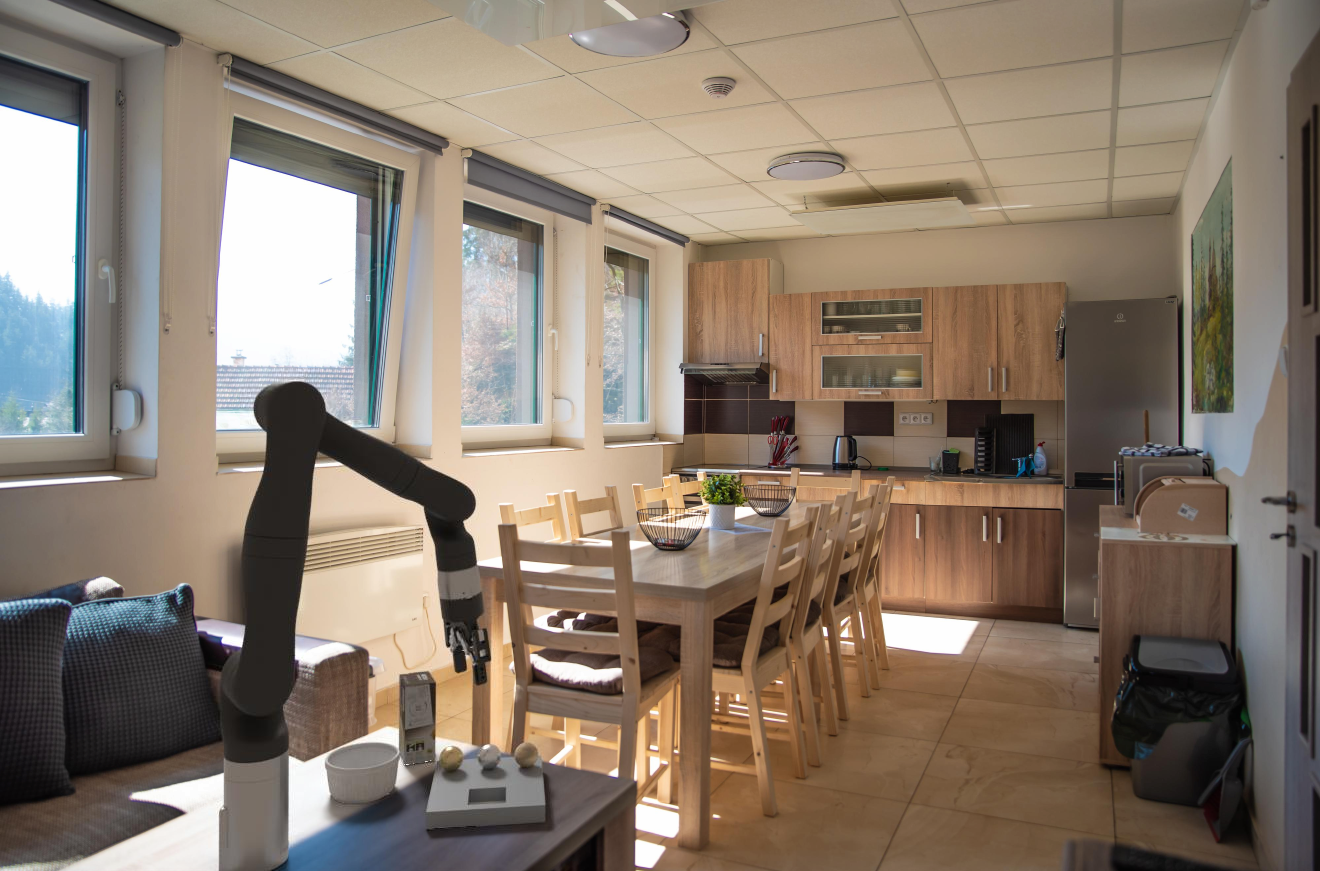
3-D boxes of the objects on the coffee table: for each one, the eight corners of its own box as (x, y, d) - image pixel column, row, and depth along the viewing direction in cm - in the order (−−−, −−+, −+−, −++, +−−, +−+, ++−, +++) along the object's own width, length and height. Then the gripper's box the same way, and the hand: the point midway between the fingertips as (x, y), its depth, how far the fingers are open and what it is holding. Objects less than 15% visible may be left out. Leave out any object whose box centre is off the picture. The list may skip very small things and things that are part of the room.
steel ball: (476, 773, 162) (476, 750, 162) (477, 764, 167) (477, 741, 166) (500, 772, 163) (501, 748, 163) (501, 763, 167) (501, 739, 167)
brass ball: (437, 775, 161) (438, 751, 161) (440, 766, 165) (440, 742, 165) (462, 774, 162) (463, 750, 162) (464, 764, 166) (464, 741, 166)
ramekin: (308, 798, 158) (308, 760, 158) (362, 771, 170) (362, 736, 170) (362, 813, 152) (363, 774, 152) (414, 785, 164) (415, 749, 164)
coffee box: (436, 761, 175) (437, 682, 175) (403, 766, 173) (404, 686, 172) (428, 745, 184) (429, 670, 183) (397, 749, 181) (397, 673, 181)
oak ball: (514, 771, 163) (514, 748, 163) (514, 762, 168) (514, 739, 168) (538, 770, 164) (538, 746, 164) (537, 761, 169) (538, 738, 168)
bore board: (425, 829, 146) (426, 812, 146) (437, 776, 168) (437, 760, 168) (545, 822, 150) (545, 804, 150) (541, 770, 171) (541, 755, 171)
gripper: (425, 589, 159) (436, 674, 161) (457, 603, 148) (468, 695, 150) (463, 579, 164) (473, 662, 165) (497, 593, 152) (507, 681, 154)
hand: (470, 677), depth 157 cm, fingers open, 8 cm apart
